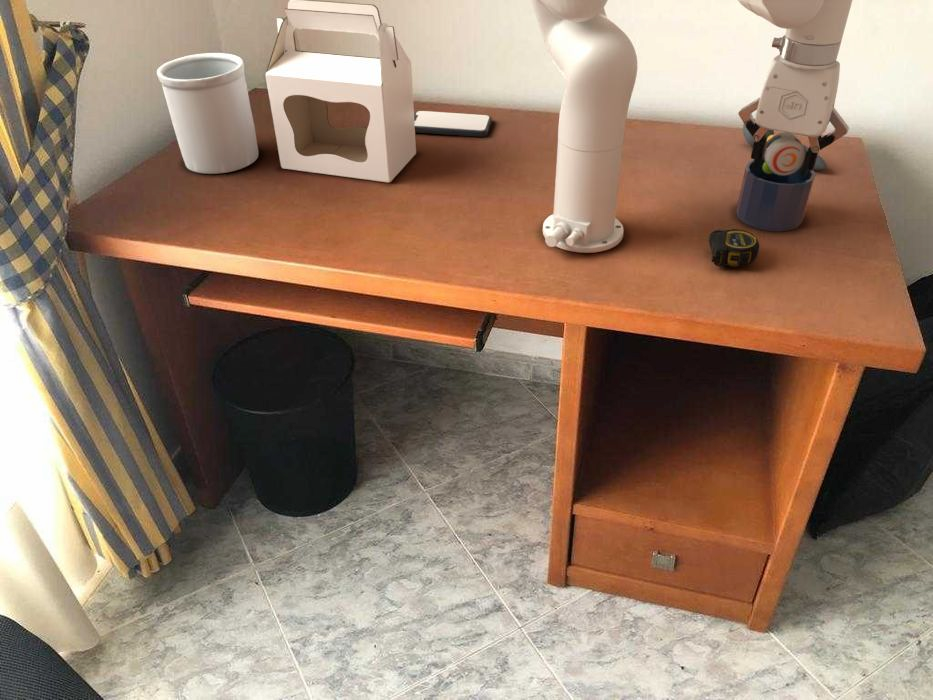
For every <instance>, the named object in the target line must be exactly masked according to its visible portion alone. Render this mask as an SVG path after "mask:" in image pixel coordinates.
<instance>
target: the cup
mask: <svg viewBox="0 0 933 700" xmlns="http://www.w3.org/2000/svg"><path fill="white" fill-rule="evenodd" d="M753 162H754V159H751V160H748V162H747V163H746V165H745V166H744V167H745V168H744V172H743V176H742V182H741V186H740V190H739V194H738V195H739V196H738V200H737V204H736V211H735V214H736V216H737V218H738V219H739V221H741V222H742V223H744V224H745V225H747V226H749V227H752V228H754V229H758V230H761V231H767V232H789V231H792V230H796V229H797V228H799V227H800V226H801V225H802V224H803V220H804V218H805V215H806V210H807V208H808V204H809V200H810V197H811V193H812V190H813V186H814V182H815V180H816V173H815V170H813V171H811V170H809V171H808V173H807V174H806V176H805V177H802V175H801V171H802V167H803V166H802V167H801V168H800V169H799V170H798V171H797V172H795V173H793V174H791V175H787V176H779V175H776V174H774V173H772V174H767V173H765V172H764V171H763V169H762V167H763V164H764V162H765V161H764V159H763V158H762V161H761V162H760V164H759V165H758V167H753Z"/></svg>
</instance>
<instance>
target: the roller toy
mask: <svg viewBox="0 0 933 700" xmlns="http://www.w3.org/2000/svg"><path fill="white" fill-rule="evenodd" d="M803 145H804V144H803V143H802V141H801V140H800V139H799V138H798V137H797V136H796V134H791V133H785V132H780V133H776V134H774V136H773V137H771V138H770V139H769V140H768V141H767V142H766V144H765V145H764V148H763V152H762V156H763V159H764V161H765V162H764V164H763V167H762V169H763V171H764V172H765V173H767V174H772V173H774V174H776V175H779V176H787V175H791V174H793V173H795V172H797V171H798V170H799V169H800V168H801V167H802V166H803V163H804V160H805V156H806V149H805V147H804V146H803Z"/></svg>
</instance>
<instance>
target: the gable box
mask: <svg viewBox="0 0 933 700" xmlns="http://www.w3.org/2000/svg"><path fill="white" fill-rule="evenodd" d="M284 12H285V14H286V16H285V17H276V24H277V26H276V27H277V36H276V39H275V42H274V45H273V48H272V51H271V55H270V58H269V61H268V64H267V67H266V70H265V73H264V75H265V80H266V87H267V92H268V98H269V105H270V110H271V117H272V122H273V127H274V128H273V129H274V134H275V138H276V145H277V151H278V157H279V158H278V159H279V163H280V167H281V169H283V170H290V171H297V172H305V173H313V174H320V175H327V176H335V177H342V178H350V179H357V180H364V181H371V182H378V183H379V182H380V183H386V184H390V183H391V182H392V181H393V180H394V179H395V177H396V176H398V174H400V172H401V171H402V170H404V167H406V165H407V164H408V163H409V162H410V161H411V160H412V159H413V158H414V156H415V155H417V145H416V143H417V141H416V132H415V123H414V113H415V107H414V105H415V104H414V91H413V89H414V88H413V73H412V72H413V71H412V60H411V59H410V58H409V56H408V54H407V53H406V51H405V49H404V48H403V46H402V45H401V43H400V41H399V40H398V38H397V37H396V33H395V32H396V31H395V27H394V26H391V25H388V23H386V22H384V23H383V22H382V19H381V14H380V11H379V8H378V7H377V5H375V4H369V3H358V2H357V3H356V2H343V1H328V0H289V1H288V2H287V8H284ZM303 29H304V30H316V31H327V32H337V33H339V32H340V33H351V34H352V33H353V34H361V35H362V34H364V35H368V36H374V37H376V39H377V41H378V51H379V52H378V54H379V56H367V55H357V54H356V55H355V54H345V53H334V52H333V53H332V52H324V51H323V52H322V51H313V50H312V51H311V50H302V49H301V44H300V41H299V36H298V32H297V30H303ZM327 102H329V103H355V104H359V105H362V106H364V107H365V109H367V110H368V112H369V122H368V125H367V127H365V126H351V127H343V128H342V127H341V128H339V127H335V126H332V125H331V123H330V122H329V118H328V116H329V115H328V114H329V108H328V104H327Z"/></svg>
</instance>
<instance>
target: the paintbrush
mask: <svg viewBox="0 0 933 700" xmlns="http://www.w3.org/2000/svg"><path fill="white" fill-rule="evenodd" d="M742 134H743V137H744V139H745V141H746V143H747V144H748V145H749V146H750V147H752V148H753V145H754V141H753V137H752V135H751V134H750V133H749V131H748V130H747V128H746V125H745V123H743V126H742ZM765 134H766V138H767V141H768V140H769V139H770V138H771V137H773V136H774V135H775V130H769V129H768V131H767V132H766V133H765ZM767 141H766V142H767ZM803 146H804V147H805V149H806V152H807V151H808V149H809V147H808V146H807V145H805V144H803ZM827 168H828V166H827V163H826V161H825V160H824V159H823V158H822V157H821V156H820V155H819V154H818V155H817V159H816V162H815V166H814V169H813V171H825V170H826V169H827Z"/></svg>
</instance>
